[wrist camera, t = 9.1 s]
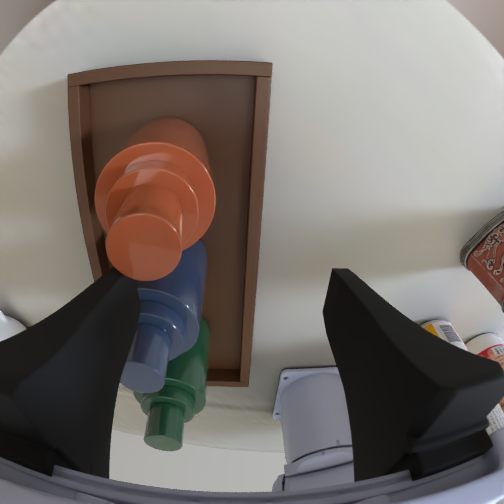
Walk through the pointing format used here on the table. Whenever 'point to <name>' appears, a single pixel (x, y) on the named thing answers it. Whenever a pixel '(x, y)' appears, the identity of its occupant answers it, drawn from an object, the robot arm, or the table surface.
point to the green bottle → (177, 395)
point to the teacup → (9, 327)
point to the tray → (222, 168)
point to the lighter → (488, 257)
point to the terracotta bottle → (155, 198)
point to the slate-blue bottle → (167, 320)
